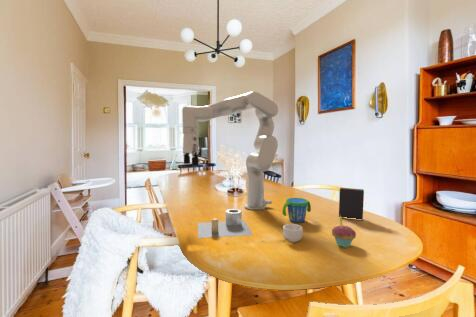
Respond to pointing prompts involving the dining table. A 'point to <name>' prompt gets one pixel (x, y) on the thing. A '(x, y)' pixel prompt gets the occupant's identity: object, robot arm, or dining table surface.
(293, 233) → the teacup
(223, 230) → the stand
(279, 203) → the dining table surface
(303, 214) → the snack cup
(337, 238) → the cupcake
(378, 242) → the dining table surface
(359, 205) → the black upright rectangular panel
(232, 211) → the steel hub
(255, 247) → the dining table surface
